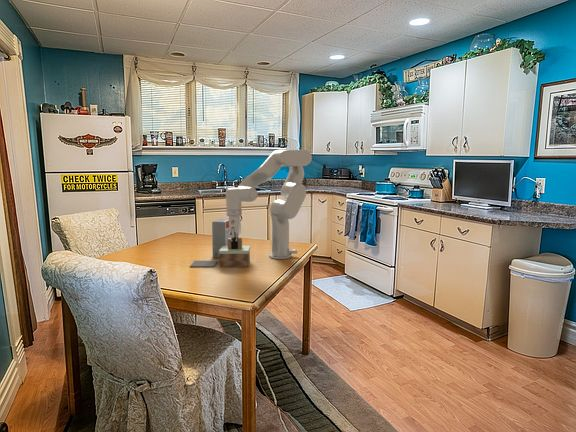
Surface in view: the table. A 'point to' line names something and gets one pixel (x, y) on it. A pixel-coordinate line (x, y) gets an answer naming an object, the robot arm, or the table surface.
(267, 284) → the table surface
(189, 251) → the table surface
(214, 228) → the hard drive box
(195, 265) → the mat
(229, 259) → the crate
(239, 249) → the lid
